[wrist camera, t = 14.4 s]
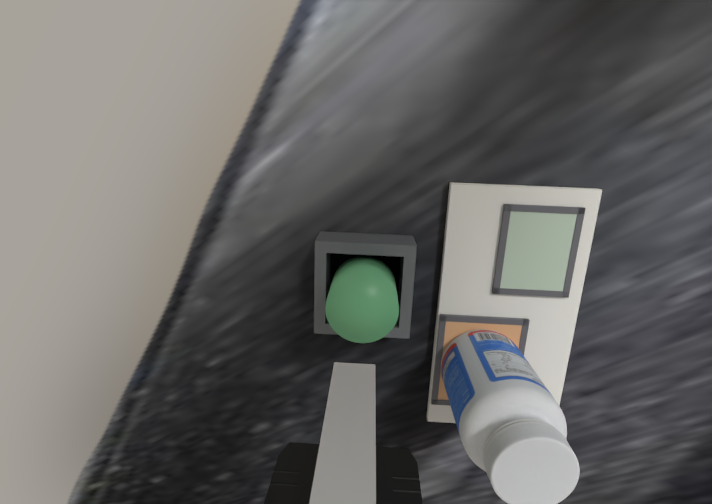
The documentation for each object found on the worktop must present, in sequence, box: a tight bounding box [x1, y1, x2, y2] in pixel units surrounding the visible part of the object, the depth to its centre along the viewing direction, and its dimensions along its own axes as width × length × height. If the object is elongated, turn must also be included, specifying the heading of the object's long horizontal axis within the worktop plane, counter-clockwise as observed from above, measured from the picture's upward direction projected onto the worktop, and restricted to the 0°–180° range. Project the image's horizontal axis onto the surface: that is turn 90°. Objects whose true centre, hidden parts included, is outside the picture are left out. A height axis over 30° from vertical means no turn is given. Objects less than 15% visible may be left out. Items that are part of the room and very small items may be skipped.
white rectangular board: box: [427, 182, 602, 423], centre depth 28 cm, size 17×9×1 cm, turn 178°
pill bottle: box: [441, 329, 580, 504], centre depth 23 cm, size 6×5×10 cm
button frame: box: [314, 231, 417, 339], centre depth 26 cm, size 6×6×3 cm
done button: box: [325, 256, 399, 343], centre depth 24 cm, size 4×4×4 cm
